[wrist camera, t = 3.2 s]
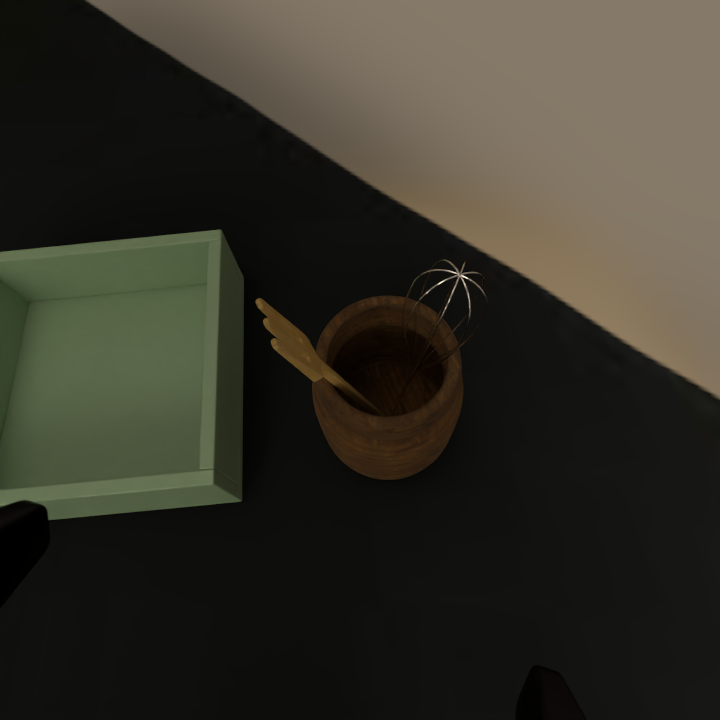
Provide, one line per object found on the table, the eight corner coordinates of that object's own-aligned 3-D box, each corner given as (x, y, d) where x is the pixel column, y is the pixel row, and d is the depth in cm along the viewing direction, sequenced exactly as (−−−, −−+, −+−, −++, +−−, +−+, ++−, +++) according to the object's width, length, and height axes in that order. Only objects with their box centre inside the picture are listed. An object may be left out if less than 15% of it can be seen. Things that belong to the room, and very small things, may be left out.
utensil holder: (475, 452, 23) (555, 328, 12) (345, 508, 22) (304, 430, 11) (419, 343, 25) (443, 156, 14) (299, 390, 25) (229, 232, 14)
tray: (242, 501, 23) (213, 484, 19) (-20, 526, 23) (-100, 514, 19) (244, 277, 27) (221, 228, 24) (27, 299, 28) (-30, 254, 24)
